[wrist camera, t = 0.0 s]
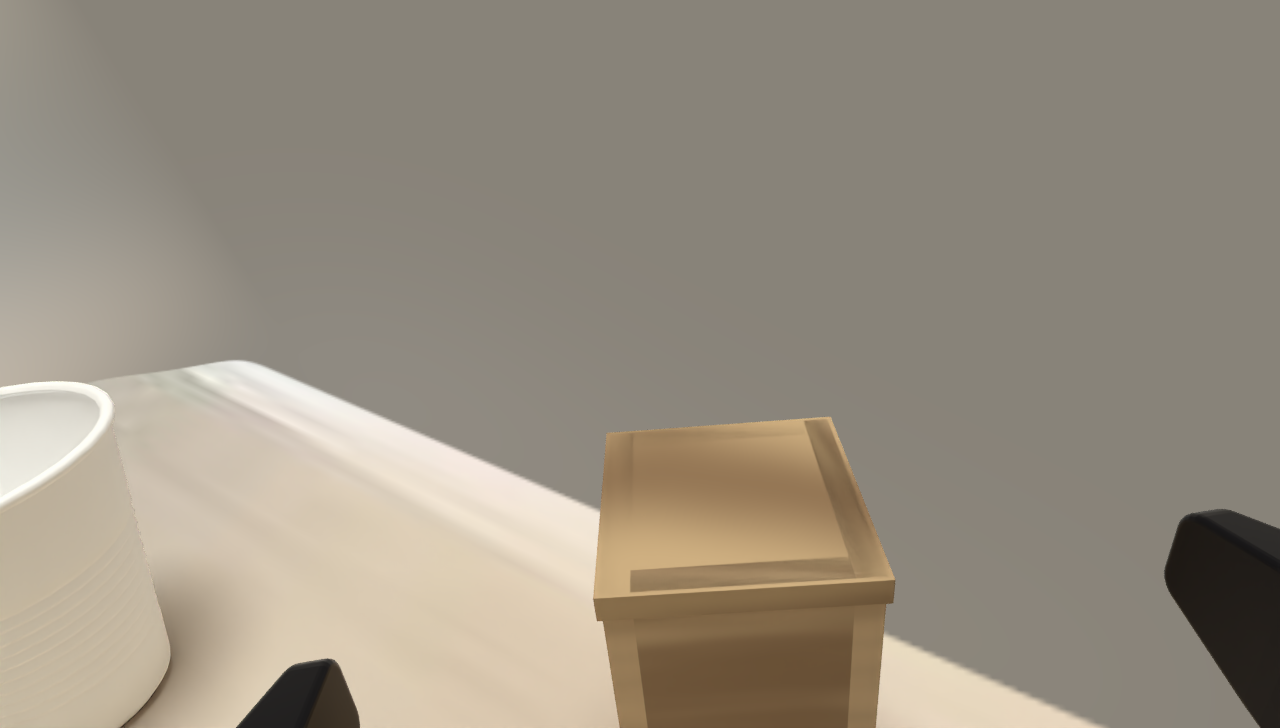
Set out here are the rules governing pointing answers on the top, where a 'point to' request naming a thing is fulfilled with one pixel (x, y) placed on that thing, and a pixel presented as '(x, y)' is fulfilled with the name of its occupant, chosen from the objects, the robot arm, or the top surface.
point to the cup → (71, 566)
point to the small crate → (739, 578)
